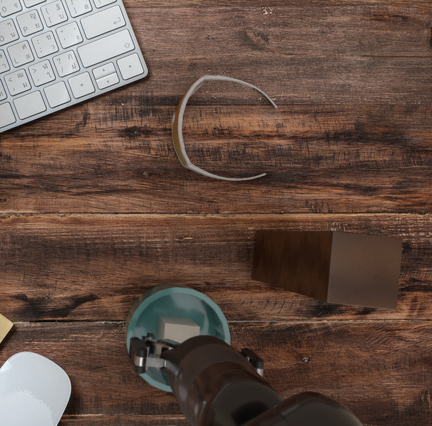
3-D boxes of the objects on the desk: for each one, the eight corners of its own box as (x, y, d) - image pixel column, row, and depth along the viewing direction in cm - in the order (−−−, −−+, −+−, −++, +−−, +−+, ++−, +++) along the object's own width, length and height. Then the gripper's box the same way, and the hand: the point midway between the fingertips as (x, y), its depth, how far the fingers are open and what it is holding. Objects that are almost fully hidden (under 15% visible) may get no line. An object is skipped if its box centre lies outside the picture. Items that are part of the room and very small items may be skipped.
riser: (299, 284, 68) (397, 310, 47) (251, 279, 68) (326, 302, 46) (303, 235, 69) (403, 238, 47) (256, 230, 68) (333, 230, 47)
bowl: (215, 384, 68) (225, 397, 63) (119, 375, 67) (121, 387, 62) (224, 288, 68) (235, 293, 63) (129, 278, 68) (132, 282, 63)
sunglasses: (176, 73, 69) (187, 62, 64) (271, 96, 71) (290, 88, 66) (159, 170, 68) (169, 166, 63) (255, 190, 71) (273, 188, 66)
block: (187, 350, 67) (196, 362, 61) (155, 347, 67) (161, 358, 61) (190, 318, 67) (200, 326, 61) (158, 314, 67) (165, 323, 61)
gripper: (134, 419, 44) (123, 368, 60) (286, 433, 44) (234, 379, 61) (142, 337, 44) (129, 308, 60) (294, 352, 45) (240, 320, 61)
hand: (182, 344), depth 60 cm, fingers open, 8 cm apart
